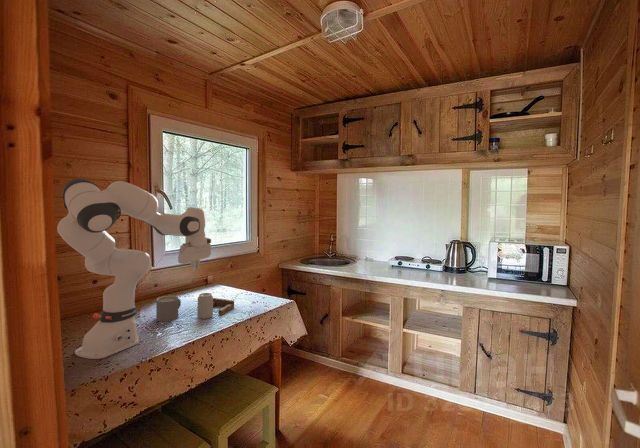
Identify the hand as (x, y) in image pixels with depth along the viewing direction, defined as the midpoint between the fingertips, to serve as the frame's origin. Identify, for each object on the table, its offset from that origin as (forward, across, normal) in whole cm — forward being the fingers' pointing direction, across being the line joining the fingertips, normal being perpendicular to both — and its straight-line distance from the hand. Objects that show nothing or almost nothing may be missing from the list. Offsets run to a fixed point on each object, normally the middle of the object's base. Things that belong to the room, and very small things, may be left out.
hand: (195, 269), depth 152 cm
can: (+27, +8, 0) cm, 28 cm away
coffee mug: (+27, +2, +16) cm, 31 cm away
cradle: (+27, +19, 0) cm, 33 cm away
